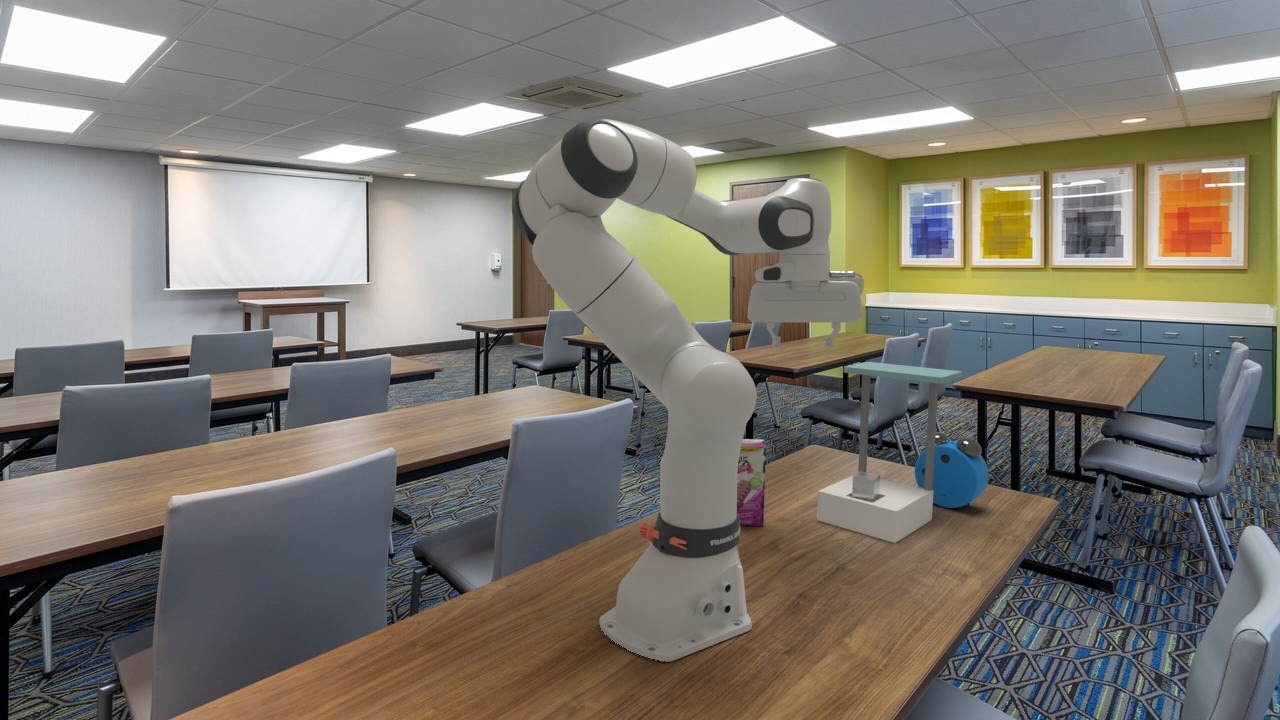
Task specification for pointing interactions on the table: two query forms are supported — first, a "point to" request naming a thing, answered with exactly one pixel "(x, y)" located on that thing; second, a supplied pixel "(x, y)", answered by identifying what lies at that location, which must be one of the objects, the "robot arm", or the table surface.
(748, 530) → the table surface
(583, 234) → the robot arm
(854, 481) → the steel peg
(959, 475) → the alarm clock
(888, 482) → the socket block
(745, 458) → the candy bar box
